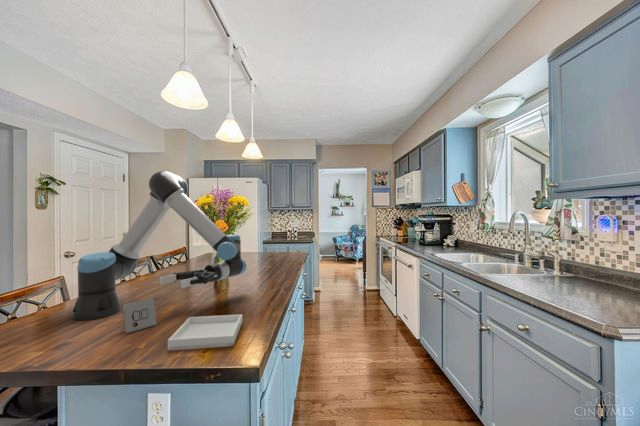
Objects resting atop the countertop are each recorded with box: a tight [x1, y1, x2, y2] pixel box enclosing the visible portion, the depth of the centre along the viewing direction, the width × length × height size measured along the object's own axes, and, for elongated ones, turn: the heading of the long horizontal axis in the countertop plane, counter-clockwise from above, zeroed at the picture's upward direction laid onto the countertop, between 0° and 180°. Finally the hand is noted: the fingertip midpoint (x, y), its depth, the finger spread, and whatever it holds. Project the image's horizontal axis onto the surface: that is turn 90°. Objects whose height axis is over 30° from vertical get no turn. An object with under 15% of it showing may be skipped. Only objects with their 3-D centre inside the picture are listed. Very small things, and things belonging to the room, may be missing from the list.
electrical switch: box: [122, 298, 157, 334], centre depth 96 cm, size 9×5×9 cm, turn 141°
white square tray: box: [167, 313, 243, 352], centre depth 89 cm, size 18×18×3 cm
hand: (170, 282), depth 105 cm, fingers open, 13 cm apart
